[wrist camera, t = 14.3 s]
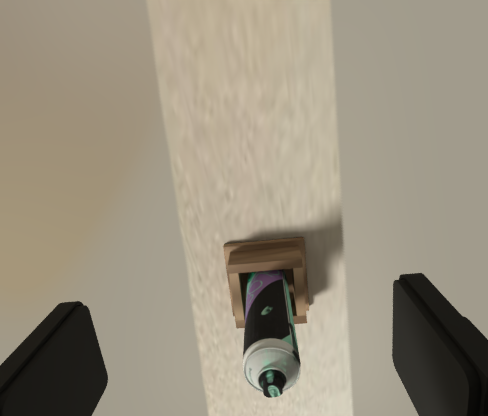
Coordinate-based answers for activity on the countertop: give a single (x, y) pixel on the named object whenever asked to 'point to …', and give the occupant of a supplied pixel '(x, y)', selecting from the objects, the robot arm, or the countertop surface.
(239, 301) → the can holder
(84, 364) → the robot arm
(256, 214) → the countertop surface
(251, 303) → the spray can
